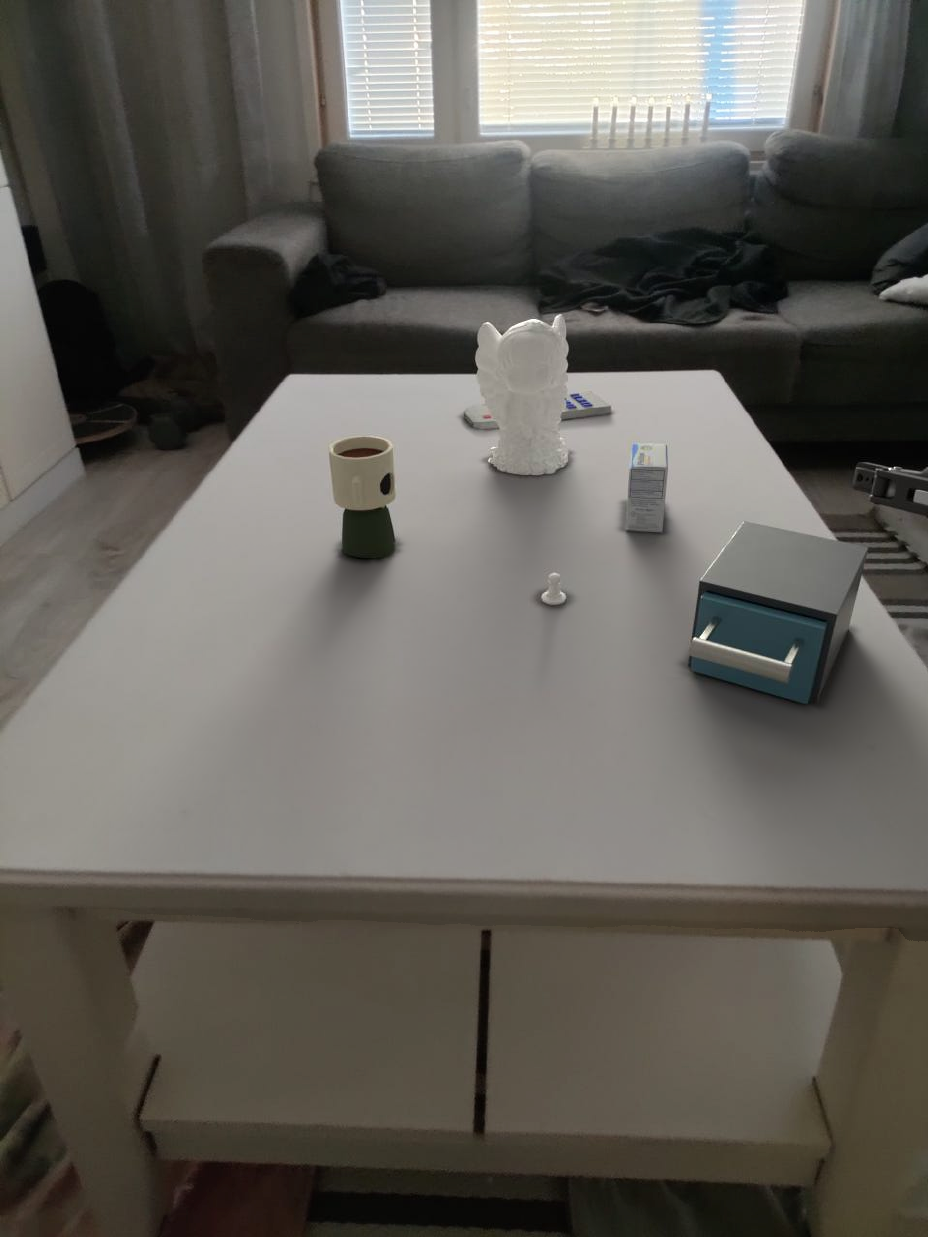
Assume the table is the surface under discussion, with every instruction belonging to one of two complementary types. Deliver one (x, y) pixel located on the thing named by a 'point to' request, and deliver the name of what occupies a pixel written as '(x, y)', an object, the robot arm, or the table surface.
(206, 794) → the table surface
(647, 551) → the table surface
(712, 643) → the open teal drawer
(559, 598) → the chess pawn
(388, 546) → the character mug
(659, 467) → the medicine box
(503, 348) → the cherub figurine
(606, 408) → the remote control
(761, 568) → the small drawer unit
